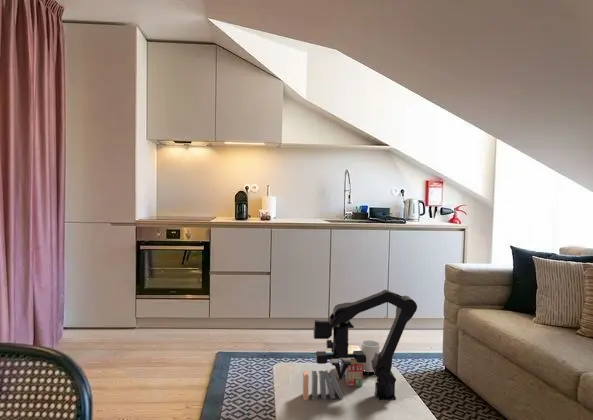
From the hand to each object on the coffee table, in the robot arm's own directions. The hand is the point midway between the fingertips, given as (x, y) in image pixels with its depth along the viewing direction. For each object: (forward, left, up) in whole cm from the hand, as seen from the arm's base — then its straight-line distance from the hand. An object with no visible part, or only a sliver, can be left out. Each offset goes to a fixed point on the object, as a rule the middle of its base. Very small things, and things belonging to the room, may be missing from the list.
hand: (340, 379), depth 172 cm
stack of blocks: (-8, -19, -7) cm, 22 cm away
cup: (-17, -23, -7) cm, 30 cm away
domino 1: (+13, 0, -6) cm, 15 cm away
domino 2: (+10, 0, -6) cm, 12 cm away
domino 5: (0, 0, -6) cm, 6 cm away
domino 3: (+6, 0, -6) cm, 9 cm away
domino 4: (+3, 0, -6) cm, 7 cm away
